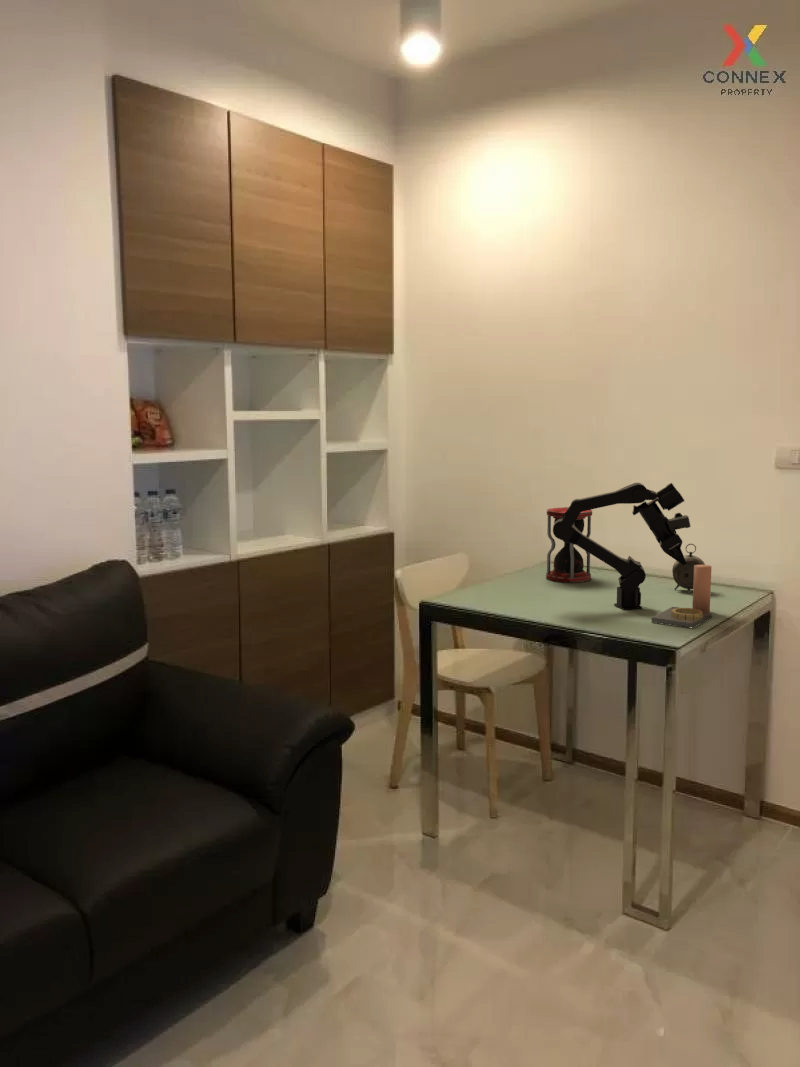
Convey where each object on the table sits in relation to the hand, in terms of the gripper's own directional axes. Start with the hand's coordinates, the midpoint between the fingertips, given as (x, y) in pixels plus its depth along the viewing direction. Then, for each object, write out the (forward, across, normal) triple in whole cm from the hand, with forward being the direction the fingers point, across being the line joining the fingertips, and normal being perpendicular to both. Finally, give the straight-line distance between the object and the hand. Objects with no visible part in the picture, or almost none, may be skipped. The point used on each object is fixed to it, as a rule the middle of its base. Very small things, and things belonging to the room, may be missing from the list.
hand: (683, 561), depth 270 cm
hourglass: (-7, +42, +37) cm, 56 cm away
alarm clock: (+15, +25, +4) cm, 30 cm away
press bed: (+11, -14, +9) cm, 20 cm away
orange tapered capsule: (+15, -3, +4) cm, 16 cm away
